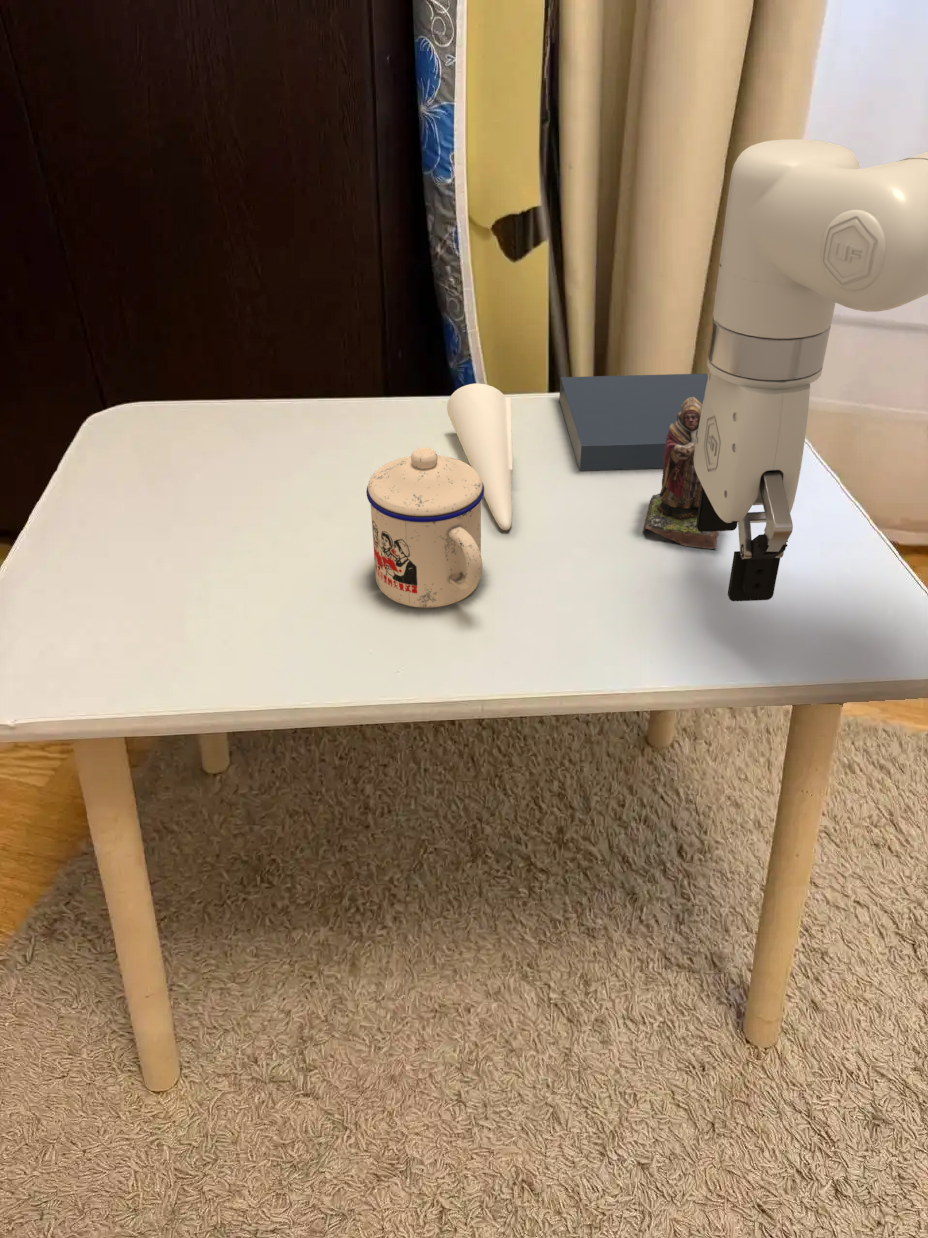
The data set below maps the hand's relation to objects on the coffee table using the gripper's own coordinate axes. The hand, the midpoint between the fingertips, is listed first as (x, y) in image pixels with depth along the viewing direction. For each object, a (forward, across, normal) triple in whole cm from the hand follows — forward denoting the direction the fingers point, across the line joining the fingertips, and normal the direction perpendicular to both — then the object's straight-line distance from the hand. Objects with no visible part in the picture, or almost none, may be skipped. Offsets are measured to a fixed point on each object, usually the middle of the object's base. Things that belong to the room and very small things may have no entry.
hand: (731, 562), depth 76 cm
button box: (+3, -30, 0) cm, 31 cm away
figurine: (+4, -12, -1) cm, 13 cm away
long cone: (+4, -21, -18) cm, 28 cm away
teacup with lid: (+4, -4, -23) cm, 23 cm away
